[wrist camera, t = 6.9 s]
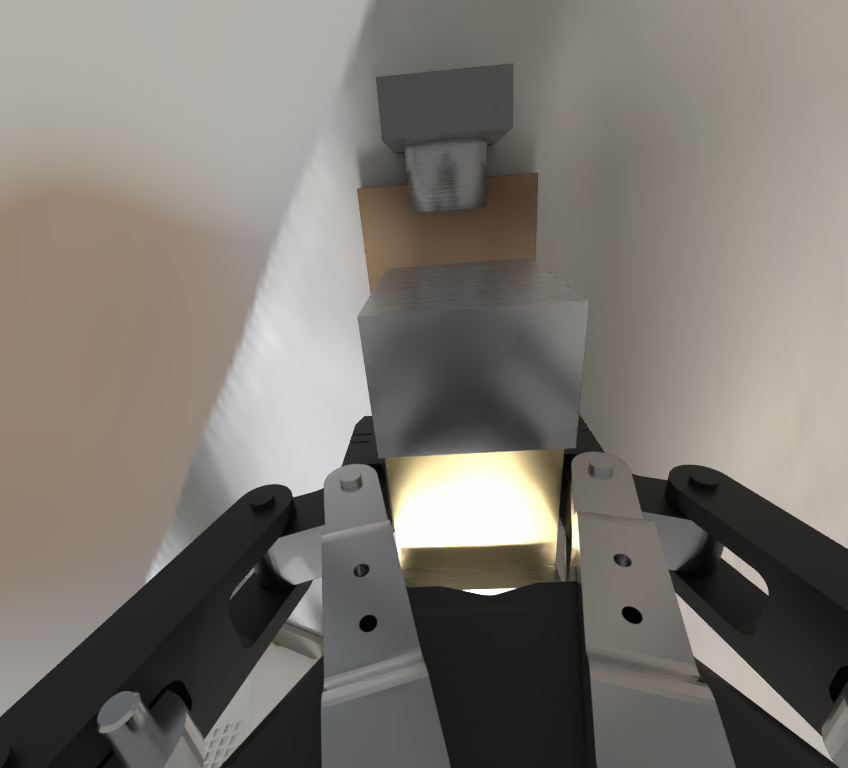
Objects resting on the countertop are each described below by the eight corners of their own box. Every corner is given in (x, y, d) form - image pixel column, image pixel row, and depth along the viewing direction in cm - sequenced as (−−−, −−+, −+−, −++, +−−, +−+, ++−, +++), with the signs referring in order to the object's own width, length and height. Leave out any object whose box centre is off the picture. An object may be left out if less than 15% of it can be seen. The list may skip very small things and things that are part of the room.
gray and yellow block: (528, 258, 12) (589, 300, 7) (520, 528, 16) (555, 663, 11) (386, 268, 12) (357, 316, 7) (416, 532, 16) (409, 667, 11)
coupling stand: (523, 520, 24) (538, 578, 20) (403, 525, 24) (398, 583, 21) (534, 84, 15) (566, 49, 12) (350, 102, 16) (324, 74, 12)
